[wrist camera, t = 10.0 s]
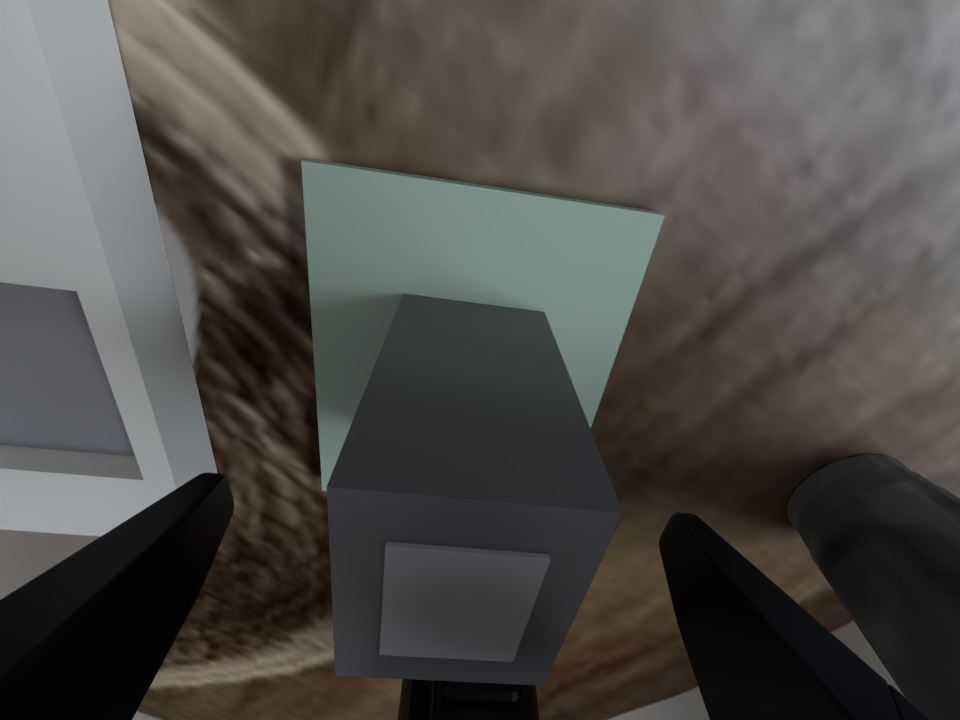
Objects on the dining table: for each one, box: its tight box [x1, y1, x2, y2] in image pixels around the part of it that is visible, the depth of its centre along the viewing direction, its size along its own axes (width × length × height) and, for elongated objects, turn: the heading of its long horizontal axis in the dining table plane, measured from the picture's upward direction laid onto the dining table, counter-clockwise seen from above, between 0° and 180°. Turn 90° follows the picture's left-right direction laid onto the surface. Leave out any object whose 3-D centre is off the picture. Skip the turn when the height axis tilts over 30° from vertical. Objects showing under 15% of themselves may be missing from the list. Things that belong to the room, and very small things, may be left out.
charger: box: [327, 293, 623, 686], centre depth 10 cm, size 5×4×7 cm
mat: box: [301, 159, 665, 491], centre depth 13 cm, size 11×9×1 cm
